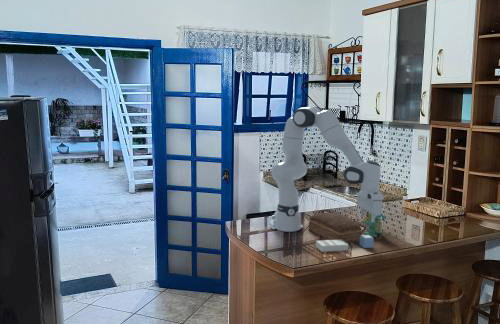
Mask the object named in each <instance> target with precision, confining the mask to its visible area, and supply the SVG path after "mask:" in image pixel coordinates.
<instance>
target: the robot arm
mask: <svg viewBox="0 0 500 324" xmlns="http://www.w3.org/2000/svg"><path fill="white" fill-rule="evenodd" d="M313 127H315V128H316V127H317V129H318V130H319V131H320V134H321V136H322V138H323V139H324V140H325V143H326V144H327V145H328V146H330V147H331V148H335V149H338V150H340V152H342V153H343V154H344V155H345V157H346V159H347V161H348V162H349V163H350V165H349V166H347V167H346V168H345V169H344V170H343V174H342V176H343V178H344V180H345V182H346V183H348V184H350V185H360V190H359V191H358V193H357V198H356V206H357V207H359V208H360V209H359V210H360V213H361V214H360V217H362V218H366V215H367V214H366V212H367V213H368V214H370V213H371V218H370V222H374V220H375V218H376V216H379V215H381V213H383V206H384V205H383V200H384V198H385V197H384V195H383V193H382V192H381V191H380V180H381V165H380V163H379V162H377V161H375V160H370V159H366V160H365V161H364V160H363V158H362V157H361V155H360V153H359V152H358V150H357V149H356V147H355V146H354V144H353V143H352V141H351V140H350V138H349V137H348V135H347V134H346V132H345V130H344V128H343V126H342V124H341V122H340V121H339V119H338V117H337V116H336V115H335V114H334V112H333V111H332V110H329V109H325V110H323V109H322V108H321V107H318V106H306V107H300V108H297V109H296V110H295V111H294V112H293V114H292V117H289V118H288V119H287V120H286V123H285V125H284V130H283V137H282V145H281V146H282V147H281V148H282V149H281V150H282V153H284V155H285V160H286V161H282V162H278V163H276V164H274V166H272V168H271V171H270V173H271V177H272V179H273V180H274V181H275V182H276V185H277V188H278V204H277V206H276V207H277V210H276V211H275V212H274V213H273V214H272V215H271V220H269V224H271V225H270V227H271V229H272V230H275V229H277V231H280V232H288V233H289V232H292V233H293V232H297V231H299V230H301V229H303V228H304V225H303V224H302V214H301V213H300V212H299V211H300V209H299V208H300V206H299V190H298V189H297V188H296V186H295V182H294V181H295V180H299V179H301V178H303V177H304V176H306V174H307V173H308V166H307V164H306V162H305V161H304V158H303V147H304V146H303V144H304V143H303V142H304V136H305V135H304V134H305V130H306V129H307V128H313Z"/></svg>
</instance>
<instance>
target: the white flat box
mask: <svg viewBox="0 0 500 324" xmlns="http://www.w3.org/2000/svg"><path fill="white" fill-rule="evenodd" d="M315 247H316V248H317V250H319V251H320V252H321V253H323V252H325V253H326V252H327V253H328V252H340V251H341V252H343V251H349V243H348V242H347V243H346V242H345V241H343V240H342V239H339V240H329V239H325V240H324V239H323V240H322V239H321V240H315Z"/></svg>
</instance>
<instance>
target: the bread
mask: <svg viewBox="0 0 500 324" xmlns="http://www.w3.org/2000/svg"><path fill="white" fill-rule="evenodd" d="M307 228H308V230H309V229H310V230H309V231H310V232H313V233H314V234H317V235H319V236H322V237H323V238H325V239H326V240H339V239H342V240H343V241H345V242H346V243H347V244H348V243H352V242H358V241H359V242H360V235H363V233H362V227H361V226H360V225H359V223H357V222H356V221H355V220H352V219H351V218H349V217H347V216H344V215H341V214H339V213H338V212H321V213H316V214H314V215H312V216H310V217H309V223H308V227H307Z"/></svg>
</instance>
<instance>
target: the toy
mask: <svg viewBox="0 0 500 324" xmlns="http://www.w3.org/2000/svg"><path fill="white" fill-rule="evenodd" d="M370 218H371V213H367V217H365V220H364V223H365V225H366V226H365V232H364V234H363V235H370V236H371V237H373V238H377V236H378V234H379V235H381V234H382V233H383V222H385V221H386V216H385V215H384V212H382V213H381V215H379V216H376V218H375V220H374V222H370Z"/></svg>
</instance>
